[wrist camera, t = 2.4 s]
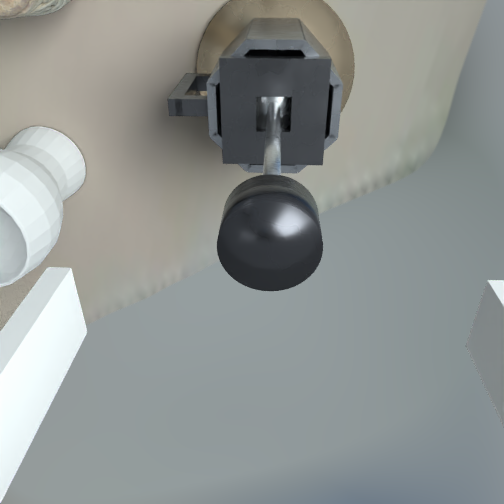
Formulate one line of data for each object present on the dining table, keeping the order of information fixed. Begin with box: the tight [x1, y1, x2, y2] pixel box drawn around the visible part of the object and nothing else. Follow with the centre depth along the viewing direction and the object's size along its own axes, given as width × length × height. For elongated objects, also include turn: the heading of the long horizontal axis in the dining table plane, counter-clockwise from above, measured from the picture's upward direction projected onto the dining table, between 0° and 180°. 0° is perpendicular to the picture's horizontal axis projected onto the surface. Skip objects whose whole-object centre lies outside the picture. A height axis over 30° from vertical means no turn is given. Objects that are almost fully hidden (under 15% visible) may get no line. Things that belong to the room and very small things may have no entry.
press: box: [168, 0, 354, 173], centre depth 37 cm, size 14×14×12 cm
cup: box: [0, 126, 86, 287], centre depth 42 cm, size 11×11×15 cm
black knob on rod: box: [217, 97, 323, 291], centre depth 26 cm, size 6×6×19 cm
